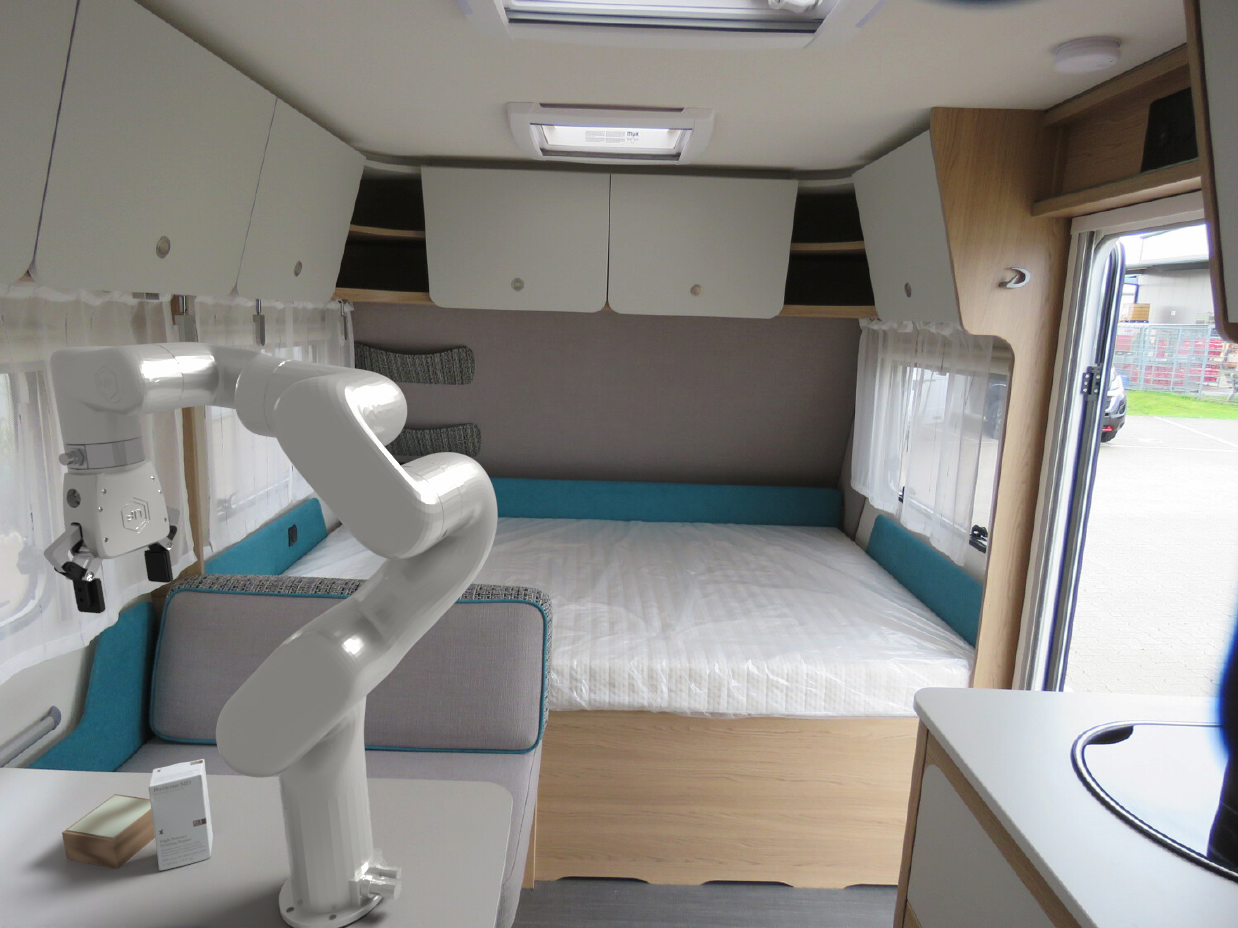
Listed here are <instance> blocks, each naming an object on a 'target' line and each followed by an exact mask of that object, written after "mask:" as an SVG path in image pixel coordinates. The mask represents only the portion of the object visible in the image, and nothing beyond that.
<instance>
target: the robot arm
mask: <svg viewBox="0 0 1238 928" xmlns="http://www.w3.org/2000/svg"><path fill="white" fill-rule="evenodd" d="M49 357H50V358H49V369H50V373H51V379H52V385H53V392H54V398H55V404H56V409H57V415H58V421H59V428H60V432H61V433H60V434H61V440H62V445H63V449H64V450H63V451H64V452H63V453H61V454H59V455H58V461H59V463H60V465H62V466H64V467H65V466H66V468H67V472H65V473H64V474H63V483H62V509H63V511H62V513H63V514H62V515H63V523H64V530H65V531H64V532H62V534H61V535H59V536H58V537H57V538H56V539H55V540H54V541H53V542H52V543H50V545H49V546H48V547H47V548H45V550H44V551H43V556H44V557H45V558H46V560H47V561H48V563H50V565H51V566H52V567H53V570H54V571H55V572H56V573H58V574H60V575H62V576H63V577H65V579H66V580H68V581H71V582H72V586H73V591H74V592H73V593H74V598H75V603H76V606H77V611H78V612H79V613H87V614H88V613H91V614H101V613H103V612H105V611H106V601H105V597H104V591H103V584H102V580H101V578H100V577H96V575H97V573H98V571H99V568H100V566H101V565H102V563H103V561H104V560H114V559H116V558H117V559H118V558H119V557H122V556H125V555H127V554H130V553H132V552H136V551H139V550H141V549H143V548H147V549H146V550H144V551H143V553H144V554H143V556H144V561H145V567H146V576H147V580H148V581H149V582H152V583H165V584H166V583H167V584H169V583H171V582H173V581H174V576H173V575H174V574H173V568H172V561H171V555H170V551H171V550H173V547H174V542H173V540H174V538H175V536H176V535H177V532H178V528H177V527H178V523H179V519H180V514H181V511H180V510H179V509H177V508H174V507H169V506H167V505H166V501H165V500H166V499H165V497H164V491H163V489H162V485H161V482H160V479H159V476H158V473H157V471H156V469H155V466H154V464H153V461H152V460H150V459H146V451H145V444H144V438H143V432H142V425H141V418H140V417H141V416H142V415H149V414H155V413H161V412H166V411H167V412H168V411H172V410H178V409H179V410H180V409H185V408H190V407H191V408H192V407H199V406H200V407H201V406H207V407H208V406H209V407H210V406H211V407H219V408H226V409H232V410H235V412H236V415H237V418H238V420H239V421H240V423H241V424H242V425H243V427H244V428H245V429H246V430H248V431H249V432H250V433H252V434H255V435H258V436H262V437H268V438H274V439H277V442H278V445H279V446H280V448H281V450H282V452H283V453H284V454H285V455H286V457H287V459H288V460H289V461H290V463H291V464H292V465H293V467H294V468H295V469H296V470H297V472H298V473H299V474H300V475H301V477H302V478H303V479H304V480H305V481H306V483H307V484H308V485H309V486H310V487H311V488H312V490H313V491H314V492H315V494H316V495H317V496H318V497H319V498H320V499H321V501H322V502H323V503H324V504H325V505H326V506H327V508H329V510H330V511H331V512H332V513H333V514H334V516H335V517H336V518H337V519H338V520H339V522H340V523H341V524H342V525H343V527H345V529H346V530H347V531H348V532H349V534H350V535H351V536H352V537H353V538H354V539H355V540H356V541H357V542H358V543H359V544H361V545H362V547H364V548H366V549H367V551H370V552H371V553H373V554H375V555H376V556H379V557H382V558H385V559H386V560H384V561H383V562H382V564H380V566H379V568H378V569H377V570H376V571H375V572H374V573H373V574H372V575H371V576H370V577H369V578H368V579H367V580H366V581H365V582H364V583H363V584H362V585H360V587H359V588H358V589H357V590H356V591H355V592H353V593H352V594H351V595H350V596H348V597H347V598H345V599H343V600H342V601H341V602H339V603H337V604H335V605H333V606H332V607H330V608H328V609H327V610H326V611H324V612H323V613H321V614H320V615H317V617H315V618H314V619H312V620H311V621H309V622H307V623H306V624H305V625H303V626H301V627H300V628H299V629H298V630H296V631H295V632H294V633H291V635H290V636H289V637H288V638H286V639H285V640H283V642H282V643H281V644H280V645H278V646H277V647H276V648H275V649H274V650H273V651H272V653H271V654H269V656H267V658H266V659H265V660H264V661H263V662H262V663H261V664H260V665H259V666H258V667H257V669H256V670H254V672H252V674H251V675H250V676H249V677H248V678H247V679H246V680H245V681H244V683H243V684H241V686H240V687H238V689H237V690H236V691H235V692H234V693H233V694H232V695H231V697H230V698H229V699H228V700H227V702H226V703H225V704H224V706H223V708H222V709H221V711H220V713H219V716H218V719H217V722H216V726H215V743H216V745H217V750H218V752H219V755H220V757H221V758H222V760H223V762H224V763H225V764H226V765H227V766H228V767H229V768H230V769H232V770H233V771H234V772H236V773H237V774H240V775H242V776H246V777H250V778H254V779H255V778H260V779H263V778H269V777H274V776H278V783H279V784H278V785H279V794H280V803H281V809H282V810H281V812H282V818H283V826H284V827H283V828H284V835H285V844H286V851H287V859H288V860H287V861H288V868H289V870H288V871H289V877H288V878H287V879H286V880H285V882H284V883H283V885H282V887H281V889H280V892H279V894H278V895H279V896H278V907H279V912H280V913H279V914H280V915H281V917H282V919H283V921H284V922H285V923H286V924H287V925H289V926H291V927H292V928H342V927H345V926H347V925H349V924H351V923H353V922H355V921H358V920H359V919H360V918H362V917H364V916H365V915H367V914H369V912H370V911H372V910H373V909H374V908H375V907H376V906H377V904H378V903H380V902H381V900H382V899H383V898H385V899H389V900H390V899H391V900H397V899H399V897H400V895H401V892H402V888H403V886H402V885H403V883H402V881H401V880H399V879H400V878H401V877H402V874H403V873H402V872H403V868H402V867H401V866H395V865H388V862H387V861H386V860H385V858H384V857H383V851H382V848H380V847H374V840H373V830H372V820H371V819H372V817H371V807H370V799H369V787H368V779H367V777H368V776H367V763H366V762H367V761H366V751H365V716H366V714H365V713H366V703H367V695H368V694H369V693H370V692H372V690H374V689H375V688H376V687H377V686H378V685H379V684H380V683H381V682H382V681H384V679H386V678H387V677H388V675H390V674H391V673H392V672H393V670H395V668H396V667H397V665H399V663H400V662H401V661H402V660H403V658H404V657H405V655H406V654H407V653H408V652H409V651H410V650H411V648H413V646H415V644H416V643H417V642H418V641H419V640H420V639H422V638H423V636H424V635H425V634H426V633H427V632H428V631H429V630H430V629H431V628H433V626H434V625H435V624H436V623H437V622H438V621H439V620H440V619H441V617H442V616H443V615H444V614H445V613H446V612H447V611H448V610H449V609H450V608H451V607H452V606H453V605H454V604H455V603H456V602H457V600H459V598H460V597H461V596H462V595H463V594H464V593H465V591H467V589H468V588H469V587H470V586H471V584H472V583H473V582H474V580H475V579H476V578H477V576H478V575H479V573H480V571H481V570H482V568H483V566H484V565H485V562H486V561H487V559H488V557H489V554H490V552H491V550H492V547H493V545H494V541H495V538H496V533H497V528H498V517H499V516H498V514H499V513H498V503H497V497H496V493H495V488H494V487H493V483H492V482H491V481H492V480H491V479H490V477H489V475H488V473H487V472H486V470H485V469H484V468H483V467H482V465H481V464H480V463H479V462H478V461H476V460H475V459H474V458H472V457H470V456H468V455H466V454H461V453H459V452H452V451H451V452H449V451H447V452H446V451H445V452H444V451H443V452H436V453H431V454H427V455H424V456H422V457H419V458H416V459H413V460H412V461H408V462H406V463H404V464H401V465H400V463H399V462H398V461H397V460H396V459H395V457H394V456H393V455H392V454H391V453H390V452H389V450H388V449H387V448H386V446H387V445H389V444H391V443H392V442H393V441H395V439H396V438H398V436H399V435H400V434H401V433H402V430H403V429H404V426H405V425H406V420H407V417H408V405H407V400H406V396H405V395H404V393H403V392H402V389H401V388H400V387H399V386H398V384H396V383H395V381H394V380H392V379H390V378H389V377H387V376H385V375H382V374H380V373H377V372H375V371H370V370H366V369H359V368H354V367H347V366H340V365H333V364H324V363H318V362H312V361H302V360H297V359H291V358H286V357H285V358H284V357H277V356H273V355H272V356H271V355H269V354H267V353H262V351H261V352H260V351H259V350H255V349H249V348H242V347H237V346H230V345H223V344H217V343H216V344H215V343H209V342H199V341H174V342H156V343H155V342H154V343H142V344H139V343H138V344H127V345H124V344H123V345H117V346H113V345H102V346H101V345H88V346H87V345H85V346H72V347H71V346H70V347H62V348H59V349H56V350H55V351H53V352H52V353H51V355H50V356H49ZM69 553H70V554H71V556H72V559H70V557H69V555H68V554H69ZM86 561H87V562H86ZM85 564H86V565H85ZM84 565H85V566H84Z"/></svg>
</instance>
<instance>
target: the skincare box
mask: <svg viewBox="0 0 1238 928" xmlns="http://www.w3.org/2000/svg"><path fill="white" fill-rule="evenodd" d="M207 781H208V780H207V773H206V762H205V759H204V758H201V759H196V760H191V761H185V762H177V763H175V764H171V765H168V766H167V765H166V766H162V767H158V768H154V769H153V770H152V773H151V777H150V781H149V784H148V792H149V794H148V795H149V799H150V801H151V810H152V818H153V826H154V834H155V838H154V839H155V840H154V842H155V848H156V855H157V862H158V870H159V871H166V870H170V869H173V868H178V867H183V866H187V865H189V864H193V863H197V862H202V861H205V860H208V859H210V858H211V856H212V855H211V854H212V847H213V840H214V834H213V825H212V824H213V823H212V818H211V817H212V816H211V807H210V806H211V805H210V799H209V798H210V797H209V790H208V782H207Z"/></svg>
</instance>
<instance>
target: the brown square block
mask: <svg viewBox="0 0 1238 928" xmlns="http://www.w3.org/2000/svg"><path fill="white" fill-rule="evenodd" d="M61 835H62V839H63V845H64V851H65V855H66V860H69V861H75V862H78V863H79V862H80V863H86V864H91V865H97V866H101V867H108V868H114V869H119V868H120V867H121V866H123V865H124V864H125V863H126V862H127V861H128V860H130V859H131V858H132V857H133V856H134V855H136V854H137V853H139V851H140V850H142V849H143V848H144V847H145V846H146V845H147V844H149V843H150V842H151V841H153V840H154V839H155V834H154V826H153V818H152V810H151V801H150V798H145V797H144V798H143V797H137V796H130V795H123V794H116V793H115V794H113V795H112V796H110V797H109V798H108V799H106V800H105V801H104V802H102V803H100V805H98V806H97V807H95V808H94V809H92V810H91V811H89V812H88V813H87V814H86V815H84V816H83V817H82V818H80V819H79V820H78V821H76V822H75V823H73V824H72V825H71V826H69V827H67V828H66V829H64V831H62V832H61Z"/></svg>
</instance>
